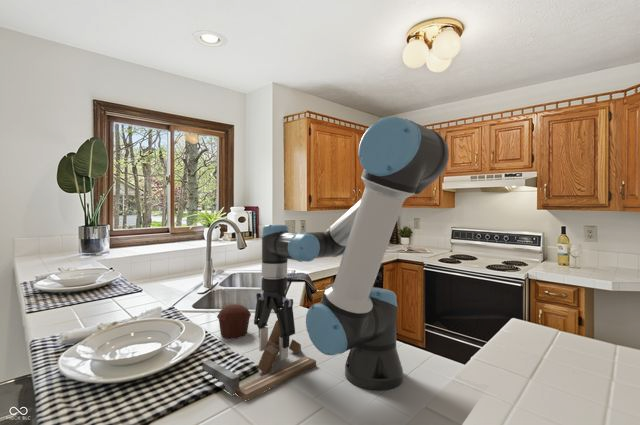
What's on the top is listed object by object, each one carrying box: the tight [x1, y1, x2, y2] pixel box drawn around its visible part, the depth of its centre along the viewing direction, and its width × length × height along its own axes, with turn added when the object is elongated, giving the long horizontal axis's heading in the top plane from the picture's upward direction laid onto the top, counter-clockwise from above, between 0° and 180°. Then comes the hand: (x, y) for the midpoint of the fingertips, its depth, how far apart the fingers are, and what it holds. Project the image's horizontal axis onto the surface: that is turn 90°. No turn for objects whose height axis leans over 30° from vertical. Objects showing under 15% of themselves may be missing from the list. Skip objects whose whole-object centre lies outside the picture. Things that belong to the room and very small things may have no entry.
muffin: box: [216, 303, 252, 340], centre depth 116 cm, size 12×11×10 cm
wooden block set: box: [257, 319, 302, 375], centre depth 95 cm, size 18×9×10 cm, turn 158°
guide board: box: [202, 356, 317, 401], centre depth 88 cm, size 17×25×4 cm
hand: (273, 353), depth 97 cm, fingers closed on wooden block set, 8 cm apart
